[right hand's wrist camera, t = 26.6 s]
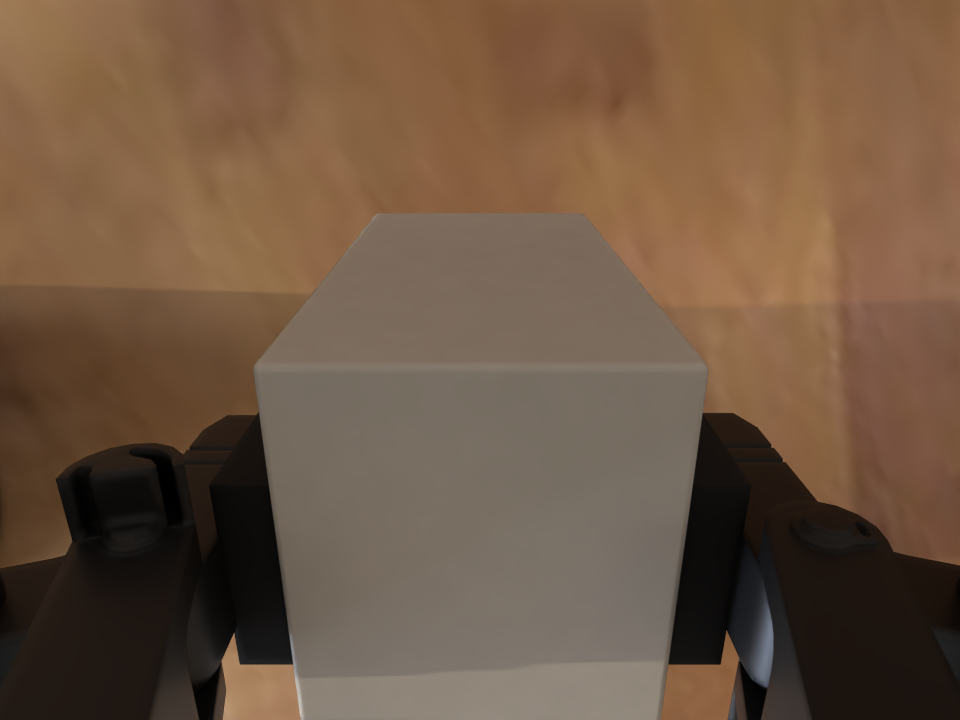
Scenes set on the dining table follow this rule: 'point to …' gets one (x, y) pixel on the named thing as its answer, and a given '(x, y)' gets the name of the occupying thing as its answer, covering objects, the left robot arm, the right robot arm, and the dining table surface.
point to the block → (480, 474)
